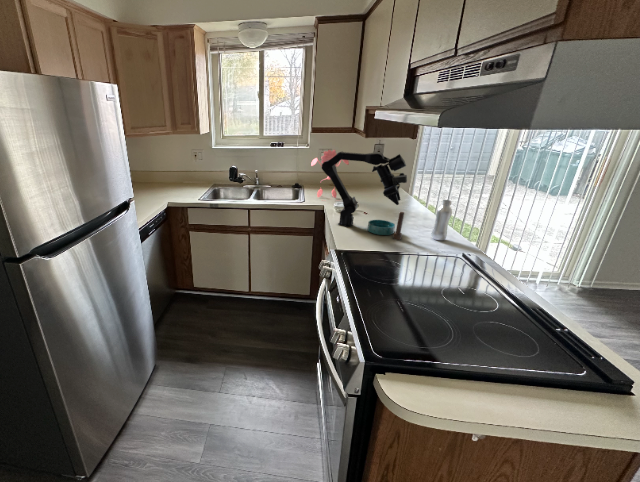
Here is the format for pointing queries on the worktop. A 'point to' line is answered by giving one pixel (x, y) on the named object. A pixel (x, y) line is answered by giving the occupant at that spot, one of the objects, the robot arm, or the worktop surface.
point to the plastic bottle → (442, 221)
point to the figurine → (326, 157)
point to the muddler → (399, 227)
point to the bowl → (381, 227)
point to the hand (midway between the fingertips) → (398, 202)
